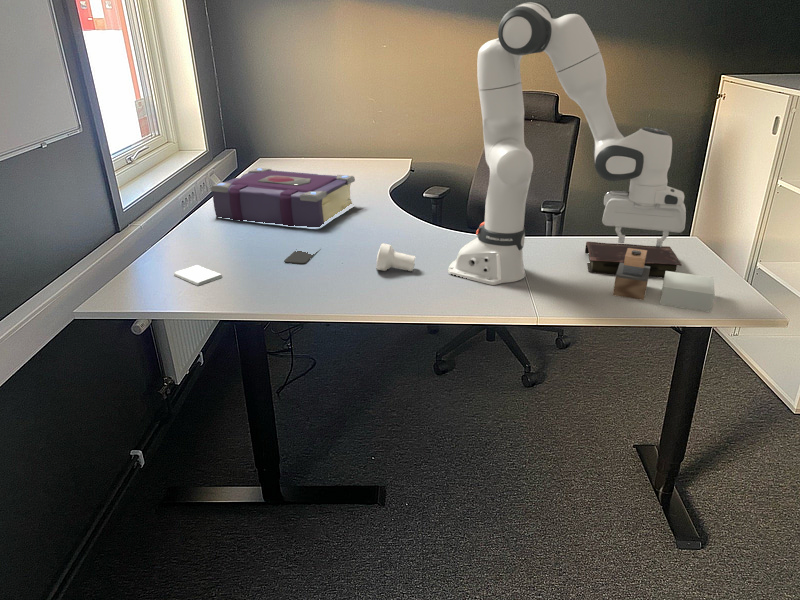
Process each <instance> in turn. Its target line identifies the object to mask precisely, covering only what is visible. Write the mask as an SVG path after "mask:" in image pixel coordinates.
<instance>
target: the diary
mask: <svg viewBox="0 0 800 600" xmlns="http://www.w3.org/2000/svg"><path fill="white" fill-rule="evenodd" d="M628 248H632V249H640V250H647V254H646V260H645V266H650V272H649V277H648V278H658V277H662V278H661V279H664V276H665V271H671V272H677V267H678V266H680V267H681V266H682V263H681V261H680V260H679V258H678V256H677V254H676V253H675V251H674V250H673V249H672V247H670V246H666V245H664V246H663V245H662V247H656V245H643V244H630V243H609V242H608V243H606V242H599V241H597V242H596V241H586V242H585V248H584V253H585V254H588V253H589V254H588V259H589V262H590V263H587V262H586V265H587V266H586V267H587V270H588V272H589V273H592V274H600V275H611V276H613V275H614V276H616V273H617V270H618V267H619V264H620V262H621V263H624V260H625V255H626V252H627V249H628Z"/></svg>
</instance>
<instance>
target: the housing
mask: <svg viewBox="0 0 800 600" xmlns="http://www.w3.org/2000/svg"><path fill="white" fill-rule="evenodd" d="M646 254H647V250H640V249H632V248H628V249H627V252H626V255H625V260H624V266H623V273H622V274H628V275H635V276H642V275H643V271H644V266H645V260H646Z"/></svg>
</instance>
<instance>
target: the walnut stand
mask: <svg viewBox="0 0 800 600" xmlns="http://www.w3.org/2000/svg"><path fill="white" fill-rule="evenodd" d="M623 266H624V263H621V262H620V264H619V267H618V270H617V273H616V275H615V278H614V284H613V291H612V296H615V297H621V298H627V299H635V300H640V301H645V298H646V291H647V287H648V282H649V278H650V277H649V272H650V266H644V271H643V275H642V276H635V275H628V274H622V273H623Z"/></svg>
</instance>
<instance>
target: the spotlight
mask: <svg viewBox="0 0 800 600" xmlns="http://www.w3.org/2000/svg"><path fill="white" fill-rule="evenodd" d="M415 260H416V256H415V255H413V254H412V255H411V254H407V253H402V252H399V251H395V250H394V248H393V247H392V245H391V244H387V243H383V242H382V243H381V244H380V247H379V249H378V252H377V256H376V266H375V269H376V270H378V271H382V272H386V271H388V270H390V269H391V268H395V269H399V270H403V271H407V270H408V271H407V272H411V271H412V272H413V270H414V268H415ZM387 269H388V270H387Z"/></svg>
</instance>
